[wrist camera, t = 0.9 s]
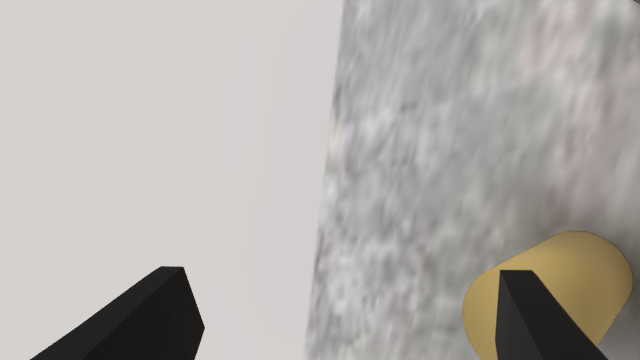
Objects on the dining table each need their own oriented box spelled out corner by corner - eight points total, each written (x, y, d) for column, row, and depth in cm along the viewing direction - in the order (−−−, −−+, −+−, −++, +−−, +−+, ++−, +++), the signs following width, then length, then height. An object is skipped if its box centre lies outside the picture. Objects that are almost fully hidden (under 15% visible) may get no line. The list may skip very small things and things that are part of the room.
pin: (657, 282, 17) (623, 345, 11) (582, 335, 18) (524, 410, 13) (576, 212, 18) (515, 241, 13) (516, 267, 20) (441, 311, 15)
